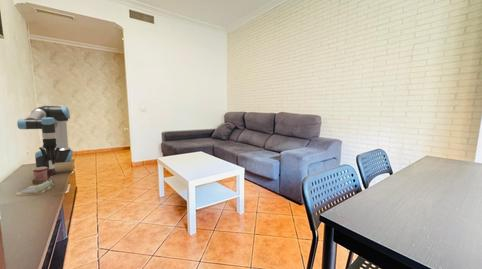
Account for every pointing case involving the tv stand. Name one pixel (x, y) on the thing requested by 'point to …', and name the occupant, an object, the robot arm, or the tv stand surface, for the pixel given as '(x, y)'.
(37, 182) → the board
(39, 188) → the leg
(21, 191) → the seat pad
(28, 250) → the tv stand surface
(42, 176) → the mug
